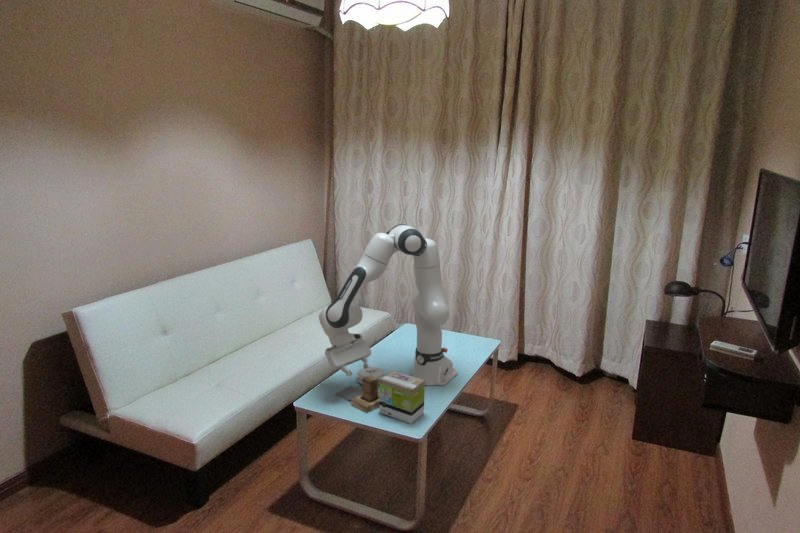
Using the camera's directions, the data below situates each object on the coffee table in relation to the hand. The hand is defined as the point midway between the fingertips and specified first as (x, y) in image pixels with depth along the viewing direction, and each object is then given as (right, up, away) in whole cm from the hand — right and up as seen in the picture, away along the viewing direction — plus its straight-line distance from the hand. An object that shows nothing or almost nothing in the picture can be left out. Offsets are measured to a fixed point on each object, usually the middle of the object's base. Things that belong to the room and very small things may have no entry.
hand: (358, 371), depth 212 cm
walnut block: (+5, -12, -2) cm, 13 cm away
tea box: (+17, -15, -9) cm, 24 cm away
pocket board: (+5, -12, -2) cm, 13 cm away
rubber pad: (-4, -10, +6) cm, 13 cm away
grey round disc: (+4, -8, +19) cm, 21 cm away
